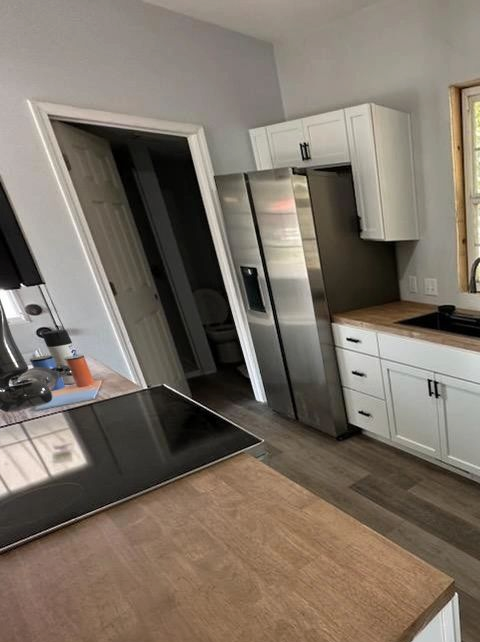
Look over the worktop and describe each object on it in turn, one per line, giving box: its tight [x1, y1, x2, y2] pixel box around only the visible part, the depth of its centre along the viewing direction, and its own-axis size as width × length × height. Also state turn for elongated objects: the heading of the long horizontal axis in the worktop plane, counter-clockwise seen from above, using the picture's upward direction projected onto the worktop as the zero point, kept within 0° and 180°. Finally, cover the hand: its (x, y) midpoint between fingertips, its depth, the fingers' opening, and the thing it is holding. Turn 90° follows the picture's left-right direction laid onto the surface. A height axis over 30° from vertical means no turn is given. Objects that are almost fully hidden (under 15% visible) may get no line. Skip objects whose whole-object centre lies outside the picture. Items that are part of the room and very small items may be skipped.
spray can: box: [41, 329, 78, 385], centre depth 156 cm, size 7×7×20 cm
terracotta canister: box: [64, 354, 95, 387], centre depth 152 cm, size 5×5×11 cm
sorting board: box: [34, 380, 103, 412], centre depth 146 cm, size 14×24×1 cm, turn 39°
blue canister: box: [28, 354, 67, 391], centre depth 137 cm, size 5×5×11 cm
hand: (48, 369), depth 138 cm, fingers closed on blue canister, 5 cm apart
